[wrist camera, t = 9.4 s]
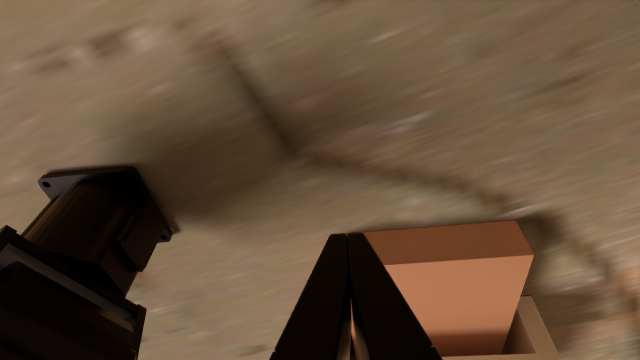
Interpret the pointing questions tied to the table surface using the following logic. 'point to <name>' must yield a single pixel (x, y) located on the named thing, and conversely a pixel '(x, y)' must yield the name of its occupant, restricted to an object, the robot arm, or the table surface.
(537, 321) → the bridge
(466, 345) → the block
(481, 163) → the table surface
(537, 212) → the table surface
